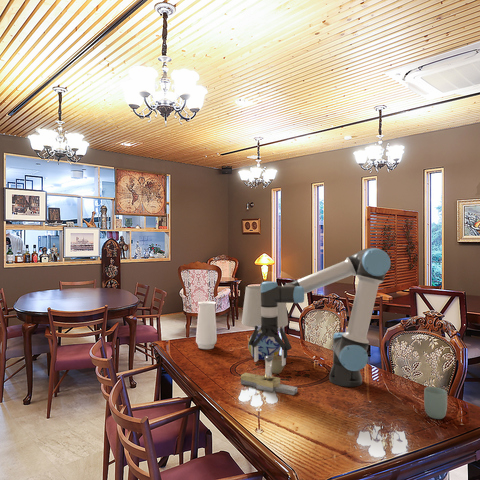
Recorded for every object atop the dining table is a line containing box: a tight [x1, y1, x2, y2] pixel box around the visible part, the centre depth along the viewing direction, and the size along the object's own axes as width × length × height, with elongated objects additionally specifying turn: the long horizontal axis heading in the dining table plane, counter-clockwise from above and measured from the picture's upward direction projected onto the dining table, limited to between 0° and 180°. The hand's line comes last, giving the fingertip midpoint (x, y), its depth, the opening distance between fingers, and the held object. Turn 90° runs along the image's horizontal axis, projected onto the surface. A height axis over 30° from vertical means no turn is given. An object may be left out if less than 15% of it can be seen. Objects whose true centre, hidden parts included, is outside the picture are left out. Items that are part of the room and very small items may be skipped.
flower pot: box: [272, 355, 285, 375], centre depth 195 cm, size 10×10×7 cm
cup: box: [423, 386, 448, 420], centre depth 145 cm, size 8×8×10 cm
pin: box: [264, 355, 273, 381], centre depth 173 cm, size 4×4×14 cm
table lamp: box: [241, 285, 289, 361], centre depth 222 cm, size 27×27×40 cm
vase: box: [195, 300, 218, 350], centre depth 241 cm, size 13×13×28 cm
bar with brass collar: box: [240, 372, 298, 396], centre depth 172 cm, size 26×8×4 cm, turn 61°
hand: (269, 363), depth 173 cm, fingers open, 13 cm apart
